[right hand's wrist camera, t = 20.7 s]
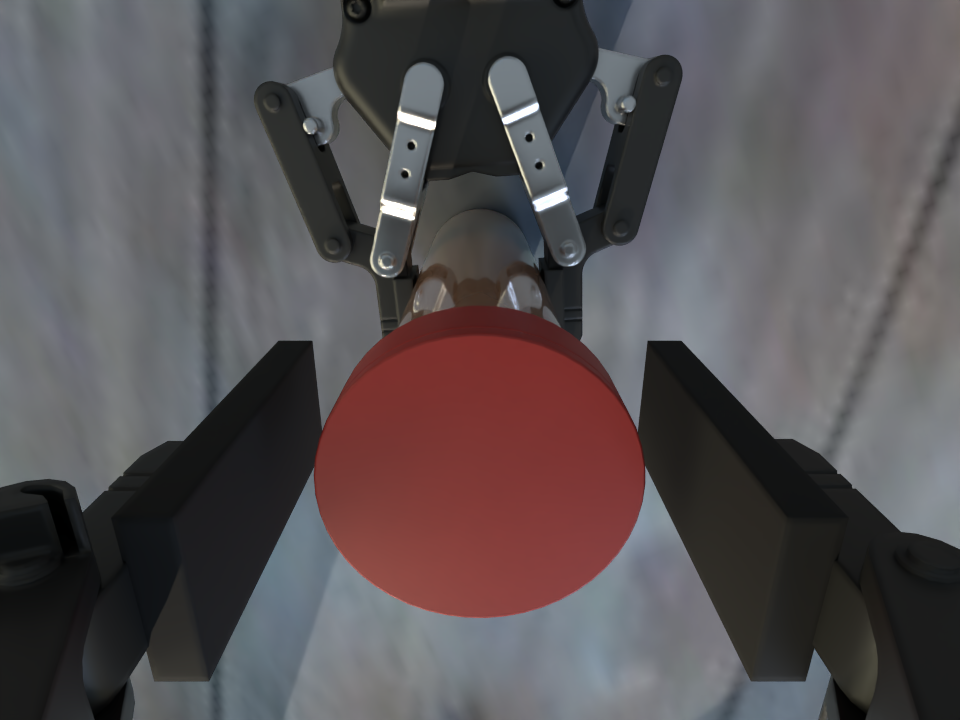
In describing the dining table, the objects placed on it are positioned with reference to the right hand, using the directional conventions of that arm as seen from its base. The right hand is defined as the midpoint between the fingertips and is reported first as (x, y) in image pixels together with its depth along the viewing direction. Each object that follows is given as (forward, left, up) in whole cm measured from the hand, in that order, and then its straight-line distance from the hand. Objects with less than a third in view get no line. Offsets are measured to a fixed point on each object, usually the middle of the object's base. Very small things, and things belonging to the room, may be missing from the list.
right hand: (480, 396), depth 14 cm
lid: (0, 0, +4) cm, 4 cm away
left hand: (-1, -3, -9) cm, 10 cm away
